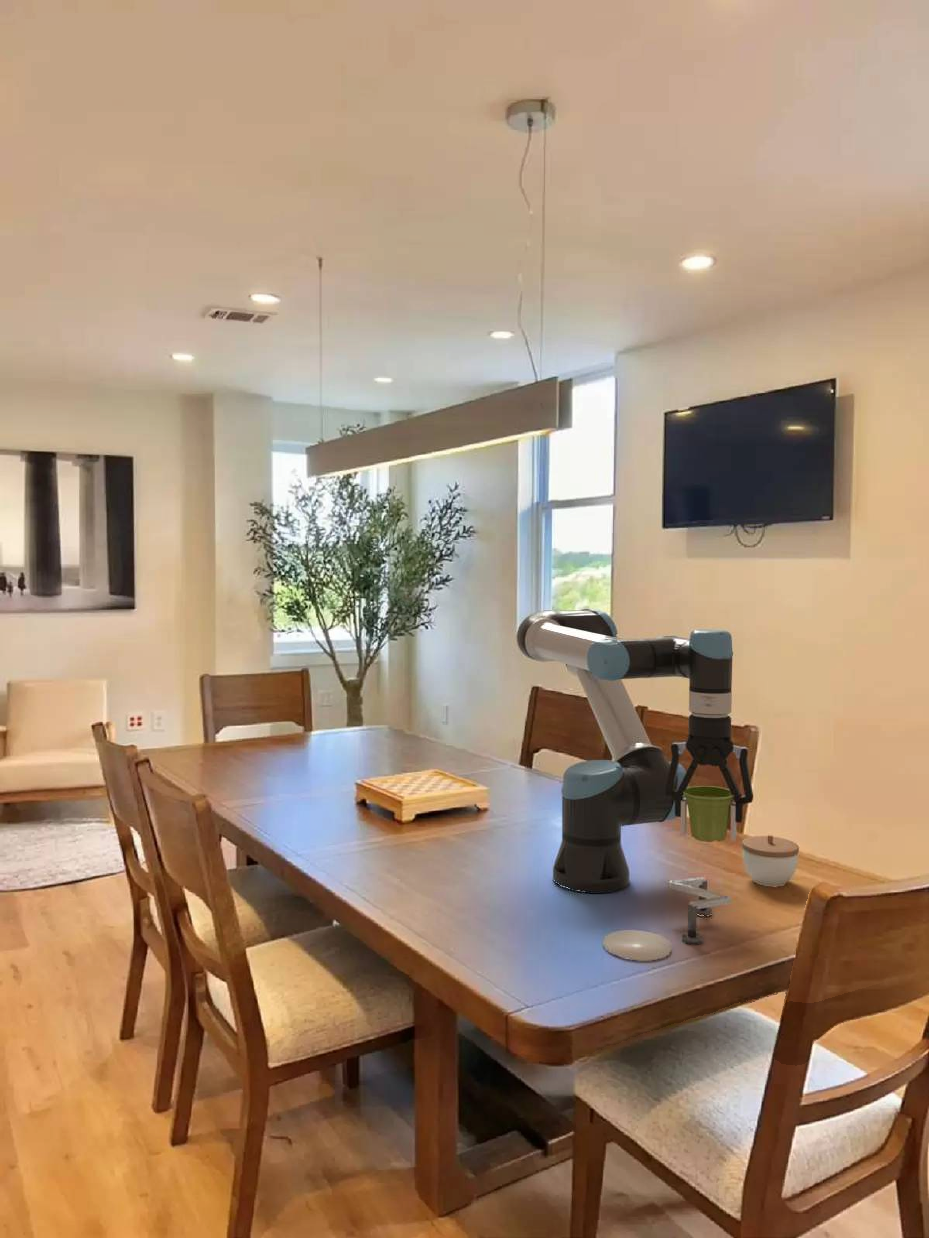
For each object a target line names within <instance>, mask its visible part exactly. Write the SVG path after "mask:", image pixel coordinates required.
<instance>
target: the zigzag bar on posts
mask: <svg viewBox="0 0 929 1238" xmlns="http://www.w3.org/2000/svg"><path fill="white" fill-rule="evenodd" d="M667 882H668V883H667V885H668V887H667V888H669V889H674V890H677V891H679V892H684V893H687V894H691V895H695V896H698V900H693V901H689V902H688V905H687V906H688V907H687V908H688V910H687V932H684V933H683V934H682V936H681V937H682V938H681V940H683V941H684V942H686V943H685V944H687V943H689V944H688V945H691V944H698V945H700V944H699V943H701V942H702V943H703V936H702V935H701V934H700V933H698V931H697V929H698V928H697V927H698V925H697V923H698V921H697V920H698V916H697V914H699V915H704V916H707V915H710V914H712V915H713V909H712V908H711V907H717V906H724V905H728V904H731V902H732V900H731V899H732V898H731V896H728V895H726V894H722V893H718V892H714V891H712V890H711V891H710V890H708V880H707V878H706V877H703V876H700V877H692V878H691V877H690V878H683V879H682V878H681V879H674V880H673V879H672V880H671V879H670V880H668V881H667ZM697 886H698V887H697ZM683 941H682V942H683ZM684 942H683V943H684ZM702 943H701V944H702Z"/></svg>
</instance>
